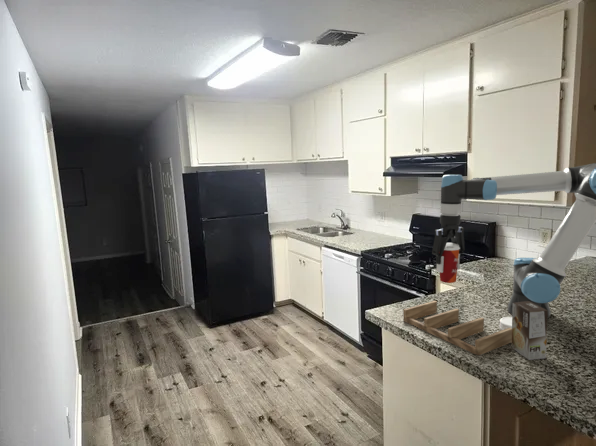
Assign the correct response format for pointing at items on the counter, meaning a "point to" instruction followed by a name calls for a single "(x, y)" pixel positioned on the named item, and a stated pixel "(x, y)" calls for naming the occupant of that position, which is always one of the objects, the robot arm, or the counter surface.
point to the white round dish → (505, 323)
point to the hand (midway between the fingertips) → (447, 270)
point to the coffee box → (529, 330)
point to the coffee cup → (450, 263)
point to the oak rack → (456, 328)
